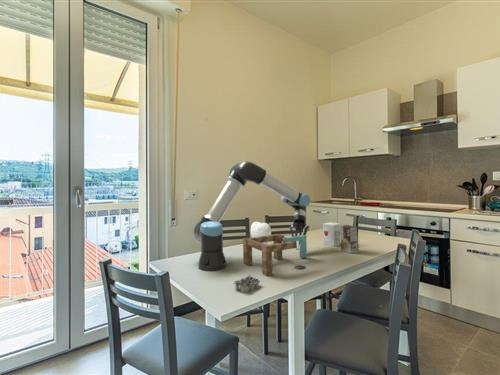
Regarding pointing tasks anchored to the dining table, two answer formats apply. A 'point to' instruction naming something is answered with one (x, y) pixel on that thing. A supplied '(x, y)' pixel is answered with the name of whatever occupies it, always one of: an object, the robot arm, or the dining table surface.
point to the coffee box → (349, 239)
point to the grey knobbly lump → (246, 284)
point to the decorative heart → (259, 232)
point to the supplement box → (331, 234)
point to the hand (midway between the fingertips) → (297, 249)
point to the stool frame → (267, 251)
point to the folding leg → (302, 244)
